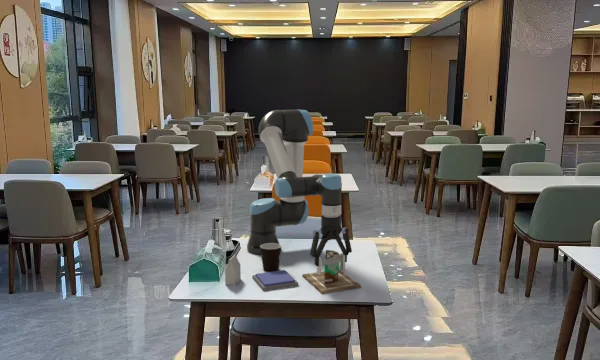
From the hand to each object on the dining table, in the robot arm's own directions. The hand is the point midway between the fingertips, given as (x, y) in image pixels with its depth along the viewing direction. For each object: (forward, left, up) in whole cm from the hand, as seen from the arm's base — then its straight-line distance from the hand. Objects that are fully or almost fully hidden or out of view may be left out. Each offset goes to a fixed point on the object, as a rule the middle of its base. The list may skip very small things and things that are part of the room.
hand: (330, 272), depth 202 cm
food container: (0, +1, -3) cm, 3 cm away
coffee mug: (-23, -16, -4) cm, 28 cm away
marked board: (0, 0, -4) cm, 4 cm away
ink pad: (-8, -20, -4) cm, 22 cm away
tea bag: (-14, -35, -4) cm, 38 cm away
